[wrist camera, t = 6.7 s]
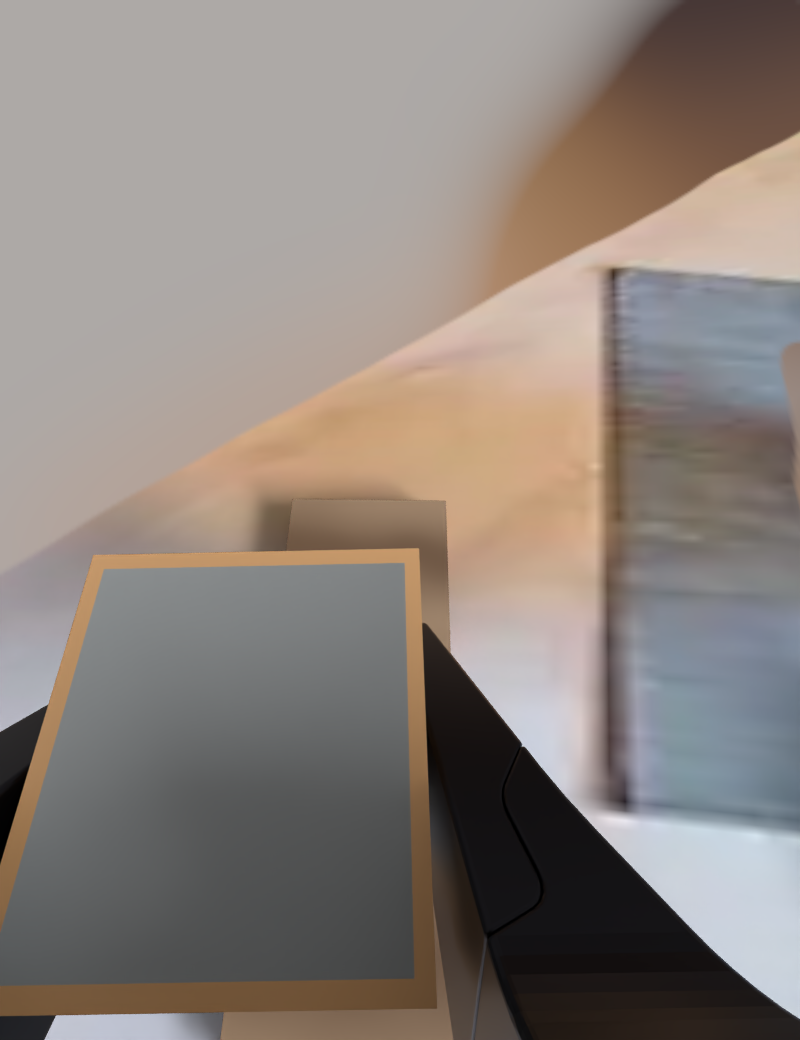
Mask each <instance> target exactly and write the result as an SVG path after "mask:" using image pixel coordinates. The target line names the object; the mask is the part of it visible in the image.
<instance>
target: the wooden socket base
mask: <svg viewBox="0 0 800 1040" xmlns="http://www.w3.org/2000/svg"><path fill="white" fill-rule="evenodd" d="M406 548H419V559H420V584H421V610H422V623H426V624H428V626H429V627H430V628H431V629H432V631H433V632H434V633H435V634H436V636H437V637H438V638H439V639H440V641H441V642H442V643H443V645H444V646H445V647H446V648H447V650H448V651H449V652H450V621H449V589H448V557H447V525H446V501H427V500H338V499H293V501H292V508H291V516H290V523H289V531H288V538H287V546H286V551H311V550H358V549H406ZM433 914H434V940H435V965H436V990H437V1009H388V1010H330V1011H272V1012H224V1015H223V1022H222V1030H221V1037H220V1040H453V1034H452V1027H451V1020H450V1014H449V1007H448V1000H447V993H446V986H445V980H444V973H443V966H442V959H441V952H440V946H439V939H438V932H437V925H436V918H435V912H434V905H433Z"/></svg>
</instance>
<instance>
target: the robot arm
mask: <svg viewBox="0 0 800 1040" xmlns="http://www.w3.org/2000/svg"><path fill="white" fill-rule="evenodd" d="M422 635H423V660H424V686H425V711H426V737H427V762H428V787H429V813H430V838H431V863H432V889H433V905H434V912H435V918H436V925H437V932H438V939H439V946H440V952H441V959H442V966H443V973H444V980H445V986H446V993H447V1000H448V1007H449V1014H450V1020H451V1027H452V1034H453V1040H800V1019H799V1018H797V1017H796V1016H794V1015H793V1014H791V1013H790V1012H788V1011H787V1010H785V1009H784V1008H782V1007H781V1006H779V1005H778V1004H777V1003H775V1002H774V1001H773V1000H771V999H770V998H769V997H767V996H766V995H765V994H763V993H762V992H761V991H759V990H758V989H757V988H756V987H754V986H753V985H752V984H751V983H749V982H748V981H747V980H746V979H745V978H743V977H742V976H741V975H740V974H739V973H737V972H736V971H735V970H734V969H733V968H732V967H731V966H729V965H728V964H727V963H726V962H725V961H724V960H723V959H722V958H721V957H720V956H718V955H717V954H716V953H715V952H714V951H713V950H712V949H711V948H710V947H709V946H708V945H707V944H706V943H705V942H704V941H703V940H702V939H701V938H700V937H699V936H698V935H697V934H696V933H695V932H694V931H693V930H692V929H691V928H690V927H689V926H688V925H687V924H686V923H685V922H684V921H683V920H682V919H681V918H680V917H679V915H678V914H677V913H676V912H675V911H674V910H673V909H672V908H671V907H670V906H669V905H668V904H667V903H666V902H665V901H664V900H663V899H662V898H661V897H660V896H659V895H658V894H657V893H656V892H655V890H654V889H653V888H652V887H651V886H650V885H649V884H648V883H647V882H646V881H645V880H644V879H643V878H642V877H641V876H640V875H639V874H638V873H637V872H636V871H635V870H634V869H633V868H632V867H631V865H630V864H629V863H628V862H627V861H626V860H625V859H624V858H623V857H622V856H621V855H620V854H619V853H618V852H617V851H616V850H615V849H614V848H613V847H612V846H611V845H610V844H609V843H608V842H607V840H606V839H605V838H604V837H603V836H602V835H601V834H600V833H599V832H598V831H597V830H596V829H595V828H594V827H593V826H592V825H591V824H590V822H589V821H588V820H587V819H586V818H585V817H584V816H583V815H582V814H581V813H580V812H579V811H578V809H577V808H576V807H575V806H574V805H573V804H572V803H571V802H570V801H569V800H568V799H567V798H566V796H565V795H564V794H563V793H562V792H561V790H560V789H559V788H558V787H557V786H556V785H555V783H554V782H553V781H552V780H551V779H550V777H549V776H548V775H547V774H546V773H545V771H544V770H543V769H542V768H541V767H540V765H539V764H538V763H537V762H536V760H535V759H534V758H533V756H532V755H531V754H530V753H529V751H528V750H527V749H526V748H525V747H522V743H521V742H520V740H519V739H518V738H517V736H516V735H515V734H514V733H513V731H512V730H511V729H510V728H509V726H508V725H507V724H506V723H505V721H504V720H503V719H502V718H501V716H500V715H499V714H498V713H497V711H496V710H495V709H494V708H493V706H492V705H491V704H490V702H489V701H488V700H487V699H486V697H485V696H484V695H483V694H482V692H481V691H480V690H479V689H478V687H477V686H476V685H475V684H474V682H473V681H472V680H471V679H470V677H469V676H468V675H467V673H466V672H465V671H464V670H463V668H462V667H461V666H460V665H459V663H458V662H457V661H456V660H455V658H454V657H453V656H452V655H451V653H450V652H449V651H448V650H447V648H446V647H445V646H444V645H443V643H442V642H441V641H440V639H439V638H438V637H437V636H436V634H435V633H434V632H433V631H432V629H431V628H430V627H429V626H428V624H426V623H422ZM47 707H48V705H47V706H45V707H43V708H41V709H40V710H38V711H36V712H34V713H33V714H31V715H29V716H27V717H26V718H24V719H22V720H20V721H19V722H17V723H15V724H13V725H12V726H10V727H8V728H6V729H5V730H3V731H1V732H0V864H1V860H2V857H3V854H4V850H5V847H6V844H7V840H8V837H9V834H10V830H11V827H12V824H13V820H14V817H15V814H16V811H17V807H18V804H19V801H20V797H21V794H22V791H23V787H24V784H25V781H26V777H27V774H28V771H29V767H30V764H31V761H32V757H33V754H34V751H35V747H36V744H37V741H38V737H39V734H40V731H41V727H42V724H43V721H44V717H45V714H46V711H47ZM55 1016H56V1015H40V1016H0V1040H44V1039H45V1037H46V1035H47V1033H48V1031H49V1029H50V1027H51V1025H52V1022H53V1020H54V1018H55Z"/></svg>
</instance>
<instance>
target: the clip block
mask: <svg viewBox="0 0 800 1040" xmlns="http://www.w3.org/2000/svg"><path fill="white" fill-rule="evenodd" d="M388 1009H437V990H436V965H435V940H434V914H433V889H432V863H431V838H430V813H429V787H428V762H427V737H426V711H425V686H424V660H423V635H422V610H421V584H420V559H419V548H406V549H358V550H311V551H263V552H215V553H168V554H120V555H93V558H92V561H91V565H90V568H89V571H88V575H87V578H86V581H85V585H84V588H83V591H82V594H81V598H80V601H79V604H78V608H77V611H76V614H75V618H74V621H73V624H72V628H71V631H70V634H69V638H68V641H67V644H66V648H65V651H64V654H63V658H62V661H61V664H60V668H59V671H58V674H57V678H56V681H55V684H54V688H53V691H52V694H51V698H50V701H49V704H48V707H47V711H46V714H45V717H44V721H43V724H42V727H41V731H40V734H39V737H38V741H37V744H36V747H35V751H34V754H33V757H32V761H31V764H30V767H29V771H28V774H27V777H26V781H25V784H24V787H23V791H22V794H21V797H20V801H19V804H18V807H17V811H16V814H15V817H14V820H13V824H12V827H11V830H10V834H9V837H8V840H7V844H6V847H5V850H4V854H3V857H2V860H1V864H0V1016H40V1015H98V1014H156V1013H214V1012H272V1011H330V1010H388Z"/></svg>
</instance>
